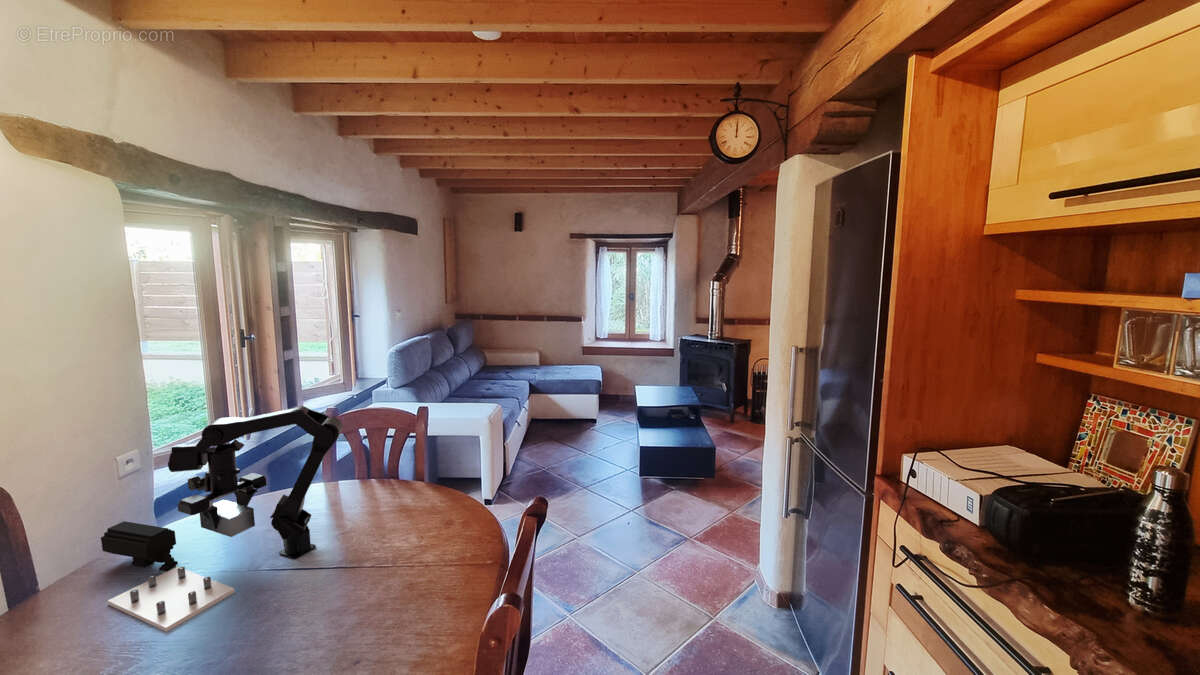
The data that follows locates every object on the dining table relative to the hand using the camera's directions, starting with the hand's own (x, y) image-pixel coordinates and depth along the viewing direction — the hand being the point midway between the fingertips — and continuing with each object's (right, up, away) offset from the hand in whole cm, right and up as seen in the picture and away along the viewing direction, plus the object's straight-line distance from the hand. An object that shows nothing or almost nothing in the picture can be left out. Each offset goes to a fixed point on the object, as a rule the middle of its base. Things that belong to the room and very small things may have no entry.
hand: (227, 522), depth 129 cm
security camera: (-21, -11, -1) cm, 24 cm away
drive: (0, -1, 0) cm, 1 cm away
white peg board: (-3, -13, -13) cm, 19 cm away
